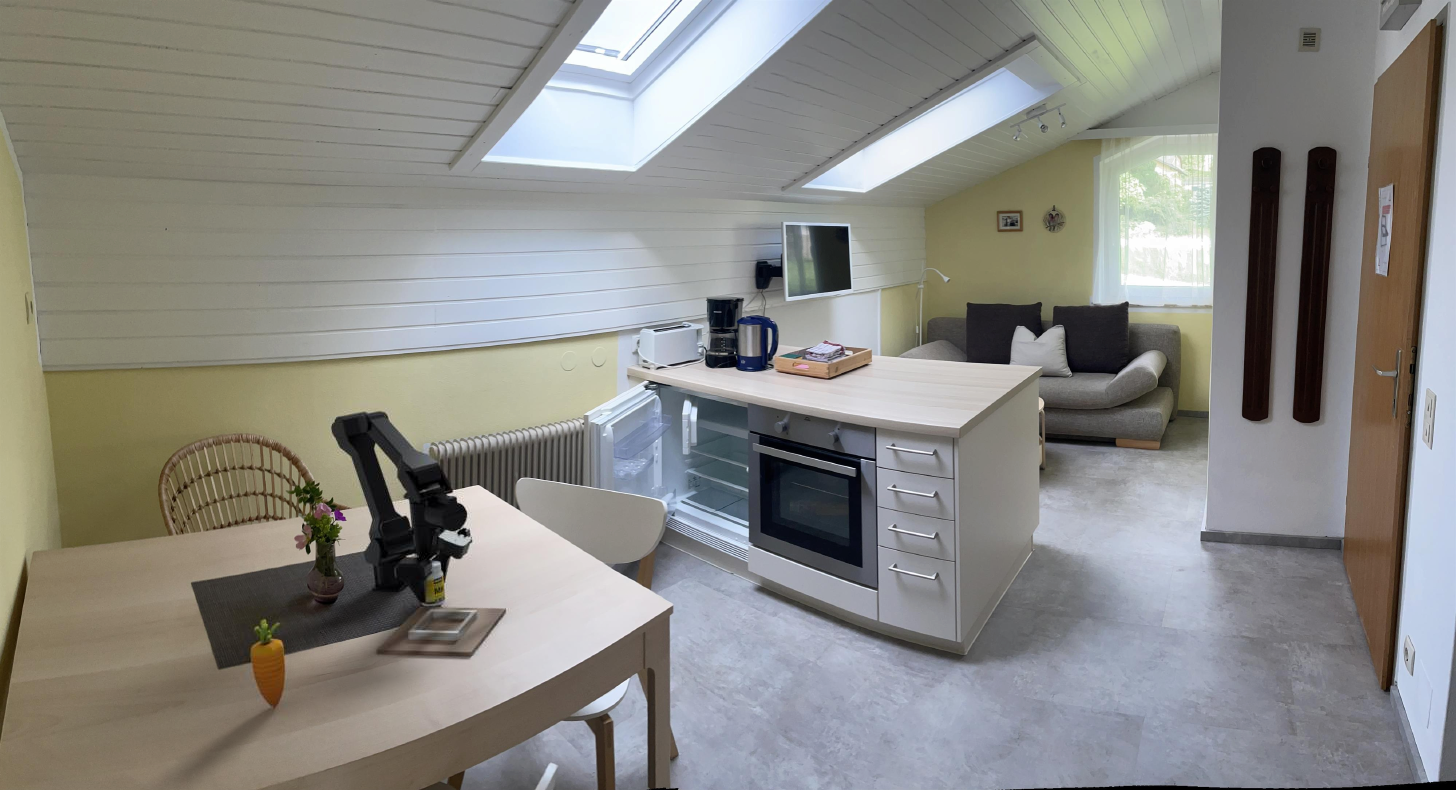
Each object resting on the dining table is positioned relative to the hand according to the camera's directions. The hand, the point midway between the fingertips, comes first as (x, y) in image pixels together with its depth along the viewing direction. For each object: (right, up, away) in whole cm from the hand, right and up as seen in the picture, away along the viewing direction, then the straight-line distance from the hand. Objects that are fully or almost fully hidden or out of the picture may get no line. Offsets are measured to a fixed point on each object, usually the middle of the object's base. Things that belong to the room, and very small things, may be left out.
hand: (432, 592), depth 175 cm
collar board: (+7, -4, -13) cm, 15 cm away
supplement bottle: (0, -2, 0) cm, 2 cm away
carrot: (-13, -10, -38) cm, 41 cm away
